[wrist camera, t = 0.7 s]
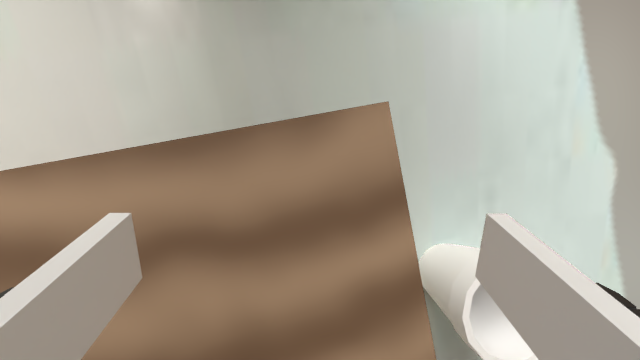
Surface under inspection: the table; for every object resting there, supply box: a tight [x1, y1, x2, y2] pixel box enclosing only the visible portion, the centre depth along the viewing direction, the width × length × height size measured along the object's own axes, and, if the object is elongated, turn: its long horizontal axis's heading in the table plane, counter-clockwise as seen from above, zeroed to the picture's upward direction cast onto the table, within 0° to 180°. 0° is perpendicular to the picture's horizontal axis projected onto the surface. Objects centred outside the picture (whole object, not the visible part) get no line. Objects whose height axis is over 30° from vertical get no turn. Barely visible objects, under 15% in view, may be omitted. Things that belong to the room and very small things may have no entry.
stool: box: [0, 102, 436, 360], centre depth 29 cm, size 24×24×20 cm
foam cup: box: [419, 244, 538, 360], centre depth 36 cm, size 10×9×13 cm
